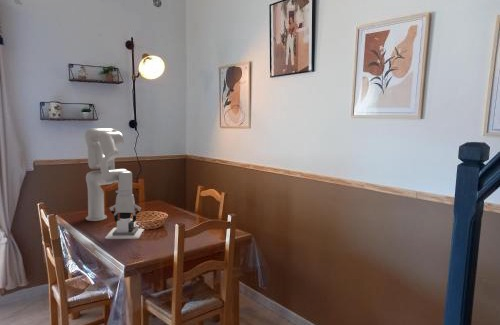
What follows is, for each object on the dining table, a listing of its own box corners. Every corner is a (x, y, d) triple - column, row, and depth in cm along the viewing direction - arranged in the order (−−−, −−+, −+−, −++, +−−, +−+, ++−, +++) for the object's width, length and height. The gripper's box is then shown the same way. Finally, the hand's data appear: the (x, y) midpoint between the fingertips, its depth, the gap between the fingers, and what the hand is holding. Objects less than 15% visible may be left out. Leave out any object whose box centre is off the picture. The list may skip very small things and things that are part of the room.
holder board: (114, 228, 205) (113, 225, 205) (144, 228, 207) (144, 224, 207) (104, 238, 187) (104, 234, 187) (138, 238, 190) (138, 234, 189)
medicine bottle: (128, 234, 194) (128, 213, 192) (116, 233, 194) (116, 213, 193) (134, 230, 201) (133, 210, 199) (122, 229, 201) (122, 210, 200)
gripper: (107, 193, 190) (107, 223, 192) (139, 194, 192) (139, 223, 194) (111, 190, 197) (111, 219, 199) (142, 191, 199) (142, 219, 201)
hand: (125, 221), depth 197 cm, fingers open, 9 cm apart
